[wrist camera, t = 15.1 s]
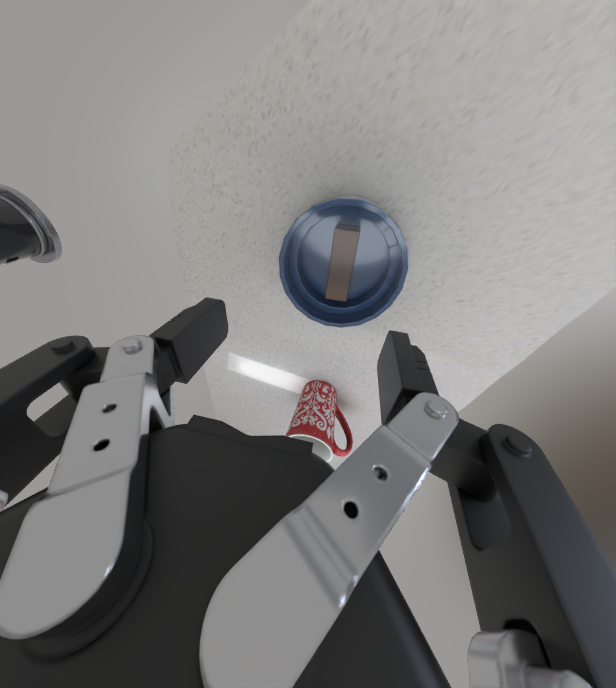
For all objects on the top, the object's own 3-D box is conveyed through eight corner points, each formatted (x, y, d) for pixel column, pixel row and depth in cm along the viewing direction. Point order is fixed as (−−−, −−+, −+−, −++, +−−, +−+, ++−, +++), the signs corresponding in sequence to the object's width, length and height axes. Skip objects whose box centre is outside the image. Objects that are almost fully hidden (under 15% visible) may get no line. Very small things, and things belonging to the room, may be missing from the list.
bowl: (272, 264, 34) (257, 278, 30) (340, 163, 26) (334, 159, 21) (345, 324, 38) (342, 345, 33) (425, 253, 30) (437, 267, 25)
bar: (337, 223, 29) (334, 228, 26) (360, 226, 29) (360, 231, 26) (327, 289, 34) (325, 298, 32) (347, 292, 34) (346, 301, 31)
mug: (293, 395, 51) (275, 451, 41) (308, 370, 46) (292, 428, 35) (342, 417, 53) (337, 477, 42) (363, 395, 47) (363, 458, 36)
